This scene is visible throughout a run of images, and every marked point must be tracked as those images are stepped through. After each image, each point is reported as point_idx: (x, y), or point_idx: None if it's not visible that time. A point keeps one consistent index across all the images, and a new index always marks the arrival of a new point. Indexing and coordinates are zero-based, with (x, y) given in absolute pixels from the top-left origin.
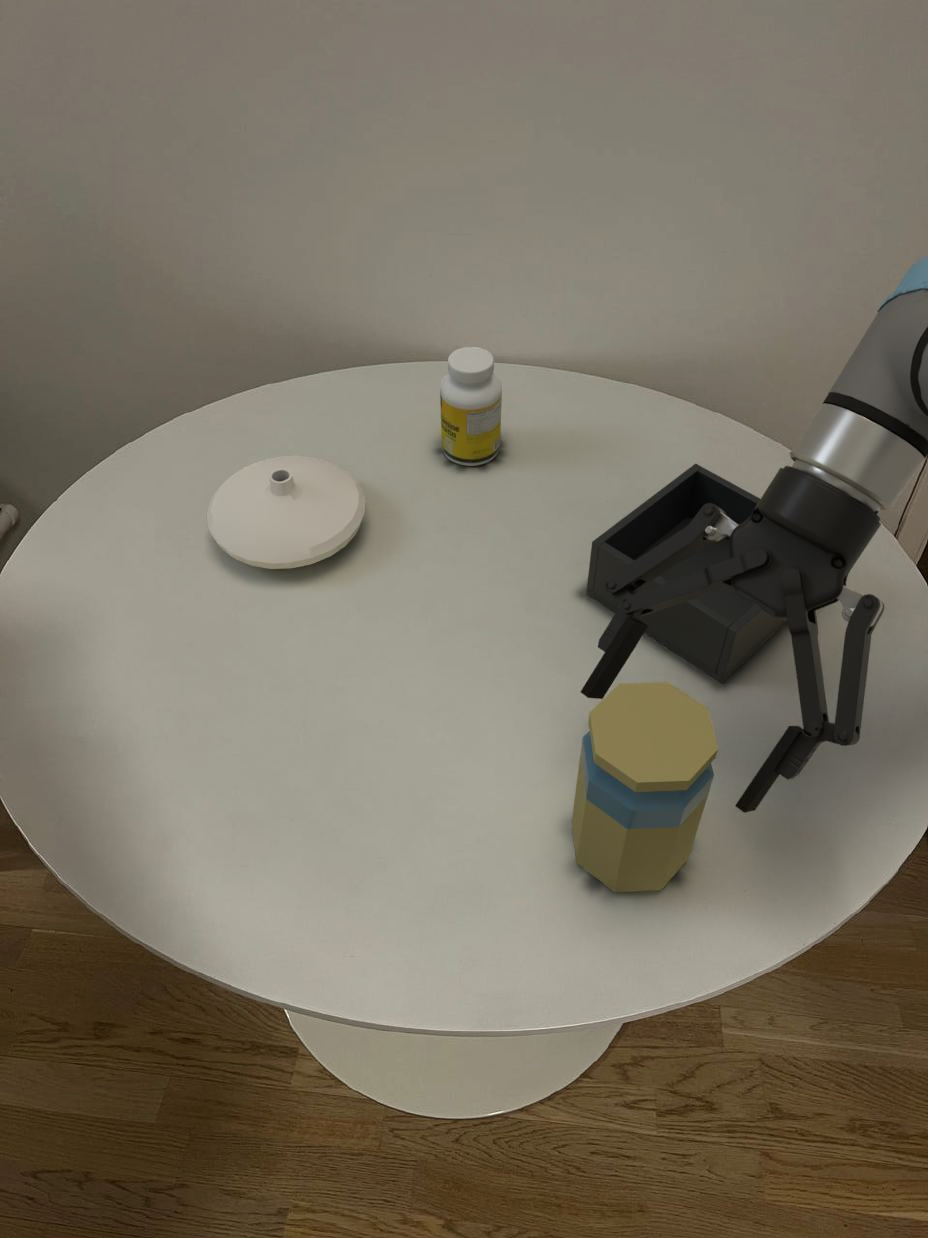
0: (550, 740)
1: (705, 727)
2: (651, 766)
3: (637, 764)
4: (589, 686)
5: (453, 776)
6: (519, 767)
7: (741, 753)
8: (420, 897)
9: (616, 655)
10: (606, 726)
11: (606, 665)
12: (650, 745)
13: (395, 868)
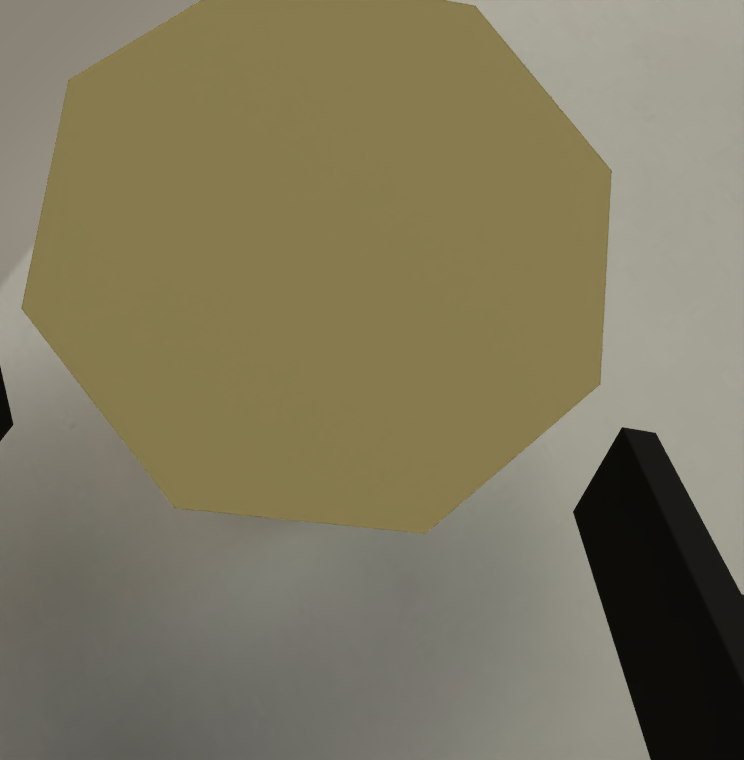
0: (573, 501)
1: (132, 387)
2: (248, 62)
3: (304, 40)
4: (650, 454)
5: (664, 317)
6: (582, 407)
7: (219, 740)
8: (554, 93)
9: (683, 589)
10: (514, 146)
11: (676, 531)
12: (306, 155)
13: (620, 113)
